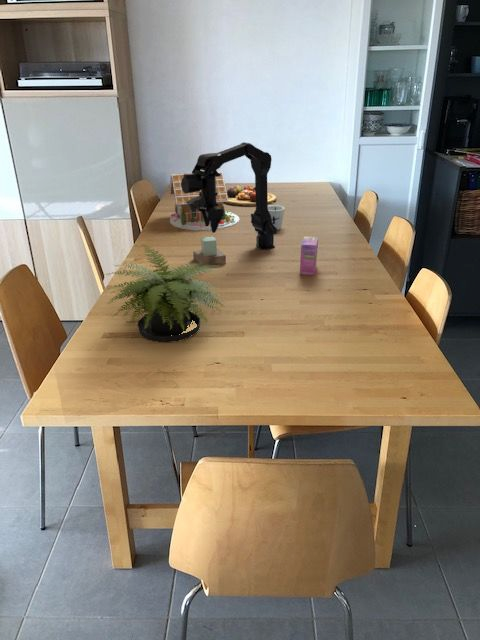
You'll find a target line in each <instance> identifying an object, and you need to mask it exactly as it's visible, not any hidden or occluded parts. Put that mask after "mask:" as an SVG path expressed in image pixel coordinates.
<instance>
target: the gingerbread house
mask: <svg viewBox="0 0 480 640" xmlns="http://www.w3.org/2000/svg"><path fill="white" fill-rule="evenodd" d="M217 172H218V173H219V174H220V175H221V176H218V177H216V192H217V193H218V195H216V201H217V203H218V206H215V207H220V208H221V209H222V210H223V211H224V216H223V217H222V218H221V220H220V222H219V225H218V227H217V229H216V230H222V229H226V227H227V228H229V226H230V227H232V225H233V226H235V225H237V224H238V223H239V222H240V217H239V216H238V215H237V214H235V213H233V212H231V211H228V210H226V209H225V206H224V202H228V198H227V188H226V184H225V179H224V174H223V172H222V171H217ZM184 174H186V173H185V172H184V173H174V174H172V173H171V174H170V182H169V184H170V185H169V195H170V196H171V195H173V196H174V201H175V205H174V207H175V209H174V211H175V212H174V213H172V214H171V215H170V217H169V218H170V220H169V223H170V224H171V225H172V226H173V227H175V228H179V229H183V230H188V231H189V230H190V231H212V229H211V224H210V223H209V226H205V222H204V219H203V216H202V213H201V212H200V211H199V210H198V209H196V210H195V211H193V212H192V211H191V210H190V209H189V207H188V205H187V201H189V200H191V199H193V198H195V197H198V196H199V192H200V191H201V190H200V191H197V192H192V193H184V192H183V190H182V187H181V182H182V179H183V178H184ZM188 174H192V172H191V173H190V172H189V173H188ZM237 222H238V223H237ZM236 223H237V224H236ZM234 224H235V225H234ZM221 228H222V229H221Z"/></svg>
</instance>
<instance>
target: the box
mask: <svg viewBox="0 0 480 640" xmlns="http://www.w3.org/2000/svg"><path fill="white" fill-rule="evenodd" d="M318 244H319V236H308V235H304V236H303V237H302V241H301V244H300V245H301V246H300V257H299V258H300V260H299V261H300V262H299V275H304V276H315V273H316V269H317V262H318V261H317V260H318V249H319V248H318V247H319V245H318Z"/></svg>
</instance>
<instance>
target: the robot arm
mask: <svg viewBox="0 0 480 640" xmlns="http://www.w3.org/2000/svg"><path fill="white" fill-rule="evenodd" d="M242 157H246V158H247V159H248V160H250V166H251V169H252V171H253V173H254V184H255V185H254V188H255V190H254V191H255V193H256V206H255V210H254V213H251V214H250V218H251V220H250V223H251V224H252V227H253V228H254V231H255V232H257V235H256V241H255V242H256V243H255V246H257V247H258V248H259V249H260V250H266V249H267V250H268V249H274V248H276V245H274V241H275V240H274V239H275V235H276V234H277V232H278V230H277V228H276V227H275V226H274V225H273V224H272V219H271V215H270V213H269V211H268V206H269V204H268V194H267V193H268V174H269V172H270V170H271V168H272V167H271V166H272V161H273V160H272V155H271V154H270V153H269V152H267V151H263V150H261V149H260V148H258V147H256V145H253V144H252V143H250V142H241V143H239V144H237V145H234V146H233V147H229V148H226V149H223V150H221V151H219V152H212V153H210V152H209V153H202V154H200V155H199V156H198V158H197V162H196V164H195V165H194V167H193V169H192V172H191V173H192V174H189V173H185V174H184V173H183V174H184V178H183V179H182V182H181V187H182V190H183V192H184V193H192V192H197V191H200V190H201V191H200V192H199V196H198V197H195V198H193V199H191V200H189V201H187V205H188V207H189V209H190V210H191V211H192V212H193V211H195V210H196V209H198V210H199V211H200V212H201V213H202V216H203V219H204V222H205V226H209V223H210V224H211V229H212V230H211V232H212V233H213V234H214V233H216V232H217V230H218V229H217V227H218V225H219V222H220V220H221V218H222V217H223V216H224V211H223V210H222V209H221V208H220V207H215V206H218V203H217V201H216V195H218V193H217V192H216V177H218V176H221V175H220V174H219V173H218V172H219V171H218V170H219V169H221V167H222V166H223V165H225V164H226V163H229V162H231V161H234V160H236V159H239V158H242Z"/></svg>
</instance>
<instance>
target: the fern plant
mask: <svg viewBox="0 0 480 640" xmlns="http://www.w3.org/2000/svg"><path fill="white" fill-rule="evenodd" d="M142 247H144V256H146V257H147V258H146V260H147V262H148V263H152V264H154V265H151V264H150V266H151V267H152V268H155V269H153V270H152V269H148V268H147V267H146V266H144V265H141V264H137V263H134V264H133V263H131V262H130V263H125V264H124V263H122V264H117V265H115V264H114V265H113V266H114V267H123V268H127V269H129V271H128V270H126V269H125V270H122V271H120V270H118V271H117V272H116V271H114V272H113V271H111V273H110V272H109V273H104V274H103V275H107V276H108V275H111V274H114V275H119V276H122V275H124V277H126V276H130V275H131V277H132V278H134V277H137V279H136V280H135V279H134V280H130V281H129V282H127V281H124V283H118V284H114V285H113V288H114V289H115V288H116V289H117V288H118V289H117V290H114V291H111V293H115V292H118V293H116V294H115V296H113V297H112V298H110V299H109V301H107V304H112V302H116V300H120V299H125V297H126V299H127V298H129V299H128V300H129V301H125V302H124V303H125V304H123V305H121V306H120V307H121V308H119V309H117V312H115V313H114V315H112V316H111V317H112V318H113V317H114V316H118V313H121V312H124V311H125V312H124V315H123V316H122V317H123V318H124V317H126V316H128V314H130V311H133V312H132V316H130V319H131V320H130V323H129V325H128V326H131V324H133V323H134V322H136V320H137V318H139V317H140V316H142V315H143V314H144V315H143V316H142V317H141V318H139V320H138V322H137V329H138V333H139V334H140V336H141V337H142V336H143V337H142V338H144V339H146V340H147V339H148V341H151V340H152V342H155V341H158V342H157V343H173V342H172V341H176V342H180V341H179V340H181V341H183V340H182V339H184V340H186V339H185V338H187V339H189V338H188V337H190V336H191V335H193V334H195V333H196V332H197V331H198V330H199V331H200V329H199V328H200V327H201V321H202V320H204V321H205V322H206V323H208V318H207V317H206V316H205V314H204V312H203V311H202V308H201V306H203V305H204V306H205V307H206V308H209V309H211V310H214V311H215V310H217V311H219V312H220V313H222V311H221V309H220V308H218V306H217V305H220V306H222V307H225V305H224V304H222V303H225V304H227V303H226V301H225V300H223V299H221V298H219V297H217V296H220V297H221V295H220V294H219V293H218V292H216V291H214V290H216V289H217V290H220V291H222V289H221V288H219V287H217V286H214V285H213V283H211V284H210V283H208V282H206V281H203V280H199V279H198V280H197V279H196V278H194V277H196V276H198V275H202V274H203V273H206V272H209V271H213V270H217V268H215V267H220V265H215V266H210V265H209V267H208V266H207V265H205V266H204V265H203V267H202V266H201V265H198V263H196V262H195V263H189V264H187V263H185V264H184V265H183V264H181V265H180V266H178V267H176V266H175V267H172V266H170V264H167V263H168V260H166V261H165V259H166V258H165V255H163V254H162V253H159V250H155V249H154V248H151V247H150V246H147V245H145V244H143V245H142ZM145 253H146V254H145ZM162 256H163V257H162ZM166 264H167V265H166ZM206 266H207V267H206ZM170 267H171V268H170ZM140 271H141V272H140ZM193 278H194V279H193ZM110 289H111V287H108V288H107V290H110ZM130 297H131V298H130ZM197 303H198V304H197ZM216 306H217V307H216ZM192 320H193V321H195V323H196V324H197V327H196V328H194V329H193V330H191V331H189V332H187V333H183V334H181V333H182V332H183V331H186V329H187V328H188V327H187V326H188V325H189V327H190V324H191V322H192ZM192 324H193V323H192ZM199 331H198V332H199ZM198 332H197V333H198ZM197 333H196V334H197ZM179 334H180V335H179ZM196 334H195V335H196ZM171 335H172V336H171ZM193 336H194V335H193ZM191 337H192V336H191ZM191 337H190V338H191Z"/></svg>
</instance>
